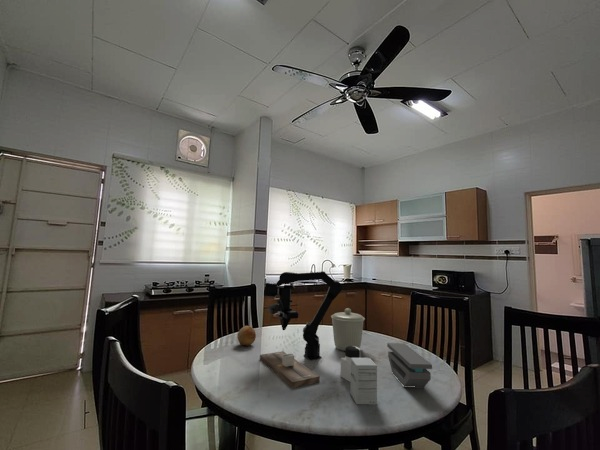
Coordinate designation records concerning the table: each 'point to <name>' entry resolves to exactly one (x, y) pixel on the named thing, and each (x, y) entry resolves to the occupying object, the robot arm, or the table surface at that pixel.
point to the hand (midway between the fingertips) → (283, 330)
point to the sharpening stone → (408, 365)
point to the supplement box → (363, 381)
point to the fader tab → (288, 360)
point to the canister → (347, 329)
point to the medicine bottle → (348, 361)
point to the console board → (290, 370)
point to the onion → (246, 335)
